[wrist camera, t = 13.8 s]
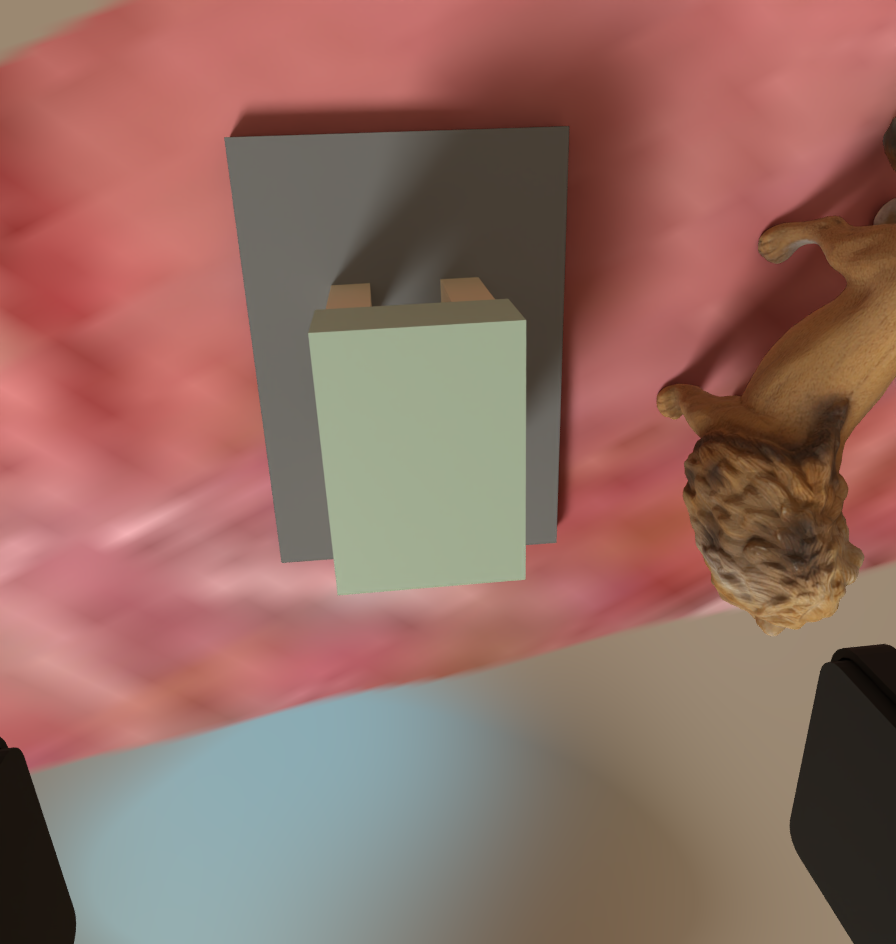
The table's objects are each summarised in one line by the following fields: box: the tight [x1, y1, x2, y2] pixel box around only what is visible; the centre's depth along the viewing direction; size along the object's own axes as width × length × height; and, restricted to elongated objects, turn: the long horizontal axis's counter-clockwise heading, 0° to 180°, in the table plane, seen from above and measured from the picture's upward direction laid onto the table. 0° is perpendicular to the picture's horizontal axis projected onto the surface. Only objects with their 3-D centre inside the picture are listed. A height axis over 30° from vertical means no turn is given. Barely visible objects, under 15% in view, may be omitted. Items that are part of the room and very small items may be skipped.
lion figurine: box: [657, 117, 896, 636], centre depth 23 cm, size 15×5×9 cm, turn 158°
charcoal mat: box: [224, 126, 569, 563], centre depth 26 cm, size 10×14×1 cm
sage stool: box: [308, 277, 526, 595], centre depth 22 cm, size 7×5×7 cm
